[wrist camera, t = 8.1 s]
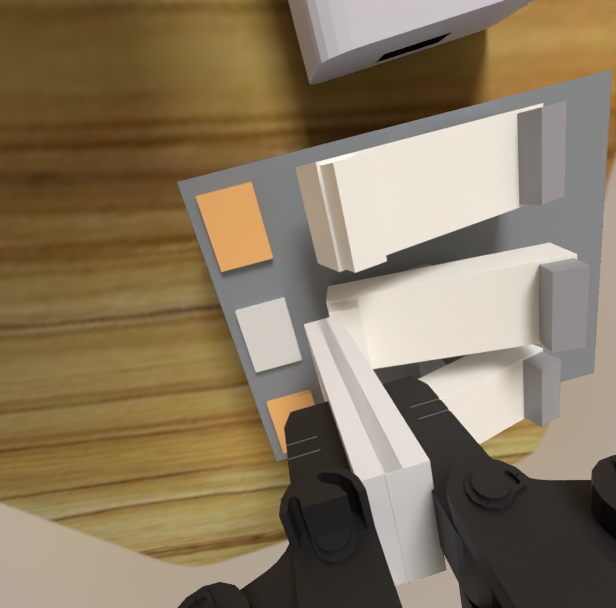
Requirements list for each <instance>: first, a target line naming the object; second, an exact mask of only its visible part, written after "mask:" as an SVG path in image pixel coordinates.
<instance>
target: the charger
mask: <svg viewBox="0 0 616 608" xmlns="http://www.w3.org/2000/svg"><path fill="white" fill-rule="evenodd" d="M531 1H533V0H288V3H289V7H290V10H291V14H292V18H293V22H294V26H295V30H296V34H297V38H298V41H299V45H300V49H301V53H302V57H303V61H304V65H305V69H306V72H307V76H308V80H309V84H310V85H312V84H318V83H322V82H325V81H328V80H332V79H335V78H338V77H341V76H344V75H348V74H351V73H354V72H357V71H360V70H363V69H366V68H369V67H372V66H375V65H378V64H382V63H385V62H388V61H391V60H394V59H397V58H400V57H403V56H406V55H409V54H413V53H416V52H419V51H422V50H425V49H428V48H431V47H434V46H437V45H440V44H443V43H447V42H450V41H453V40H456V39H459V38H462V37H465V36H468V35H471V34H474V33H477V32H479V31H482V30H484V29H487V28H489V27H491V26H493V25H495V24H497V23H499V22H500V21H502V20H503V19H505V18H507V17H508V16H510V15H511V14H513V13H514V12H516V11H517V10H519V9H521V8H522V7H524V6H525V5H527V4H528V3H530V2H531ZM451 32H452V33H451ZM448 33H450V34H449V35H448V36H446V37H445V38H444V39H442V40H441V41H440V42H438V43H435V44H432V45H429V46H426V47H423V48H420V49H417V50H414V51H410V52H407V53H404V54H401V55H398V56H395V57H392V58H389V59H386V60H383V61H380V62H377V61H378V60H379V59H380V58H381V57H382V56H383V55H384V54H386V53H389V52H392V51H395V50H398V49H402V48H405V47H408V46H411V45H414V44H417V43H420V42H423V41H426V40H429V39H432V38H436V37H439V36H442V35H445V34H448Z"/></svg>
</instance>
